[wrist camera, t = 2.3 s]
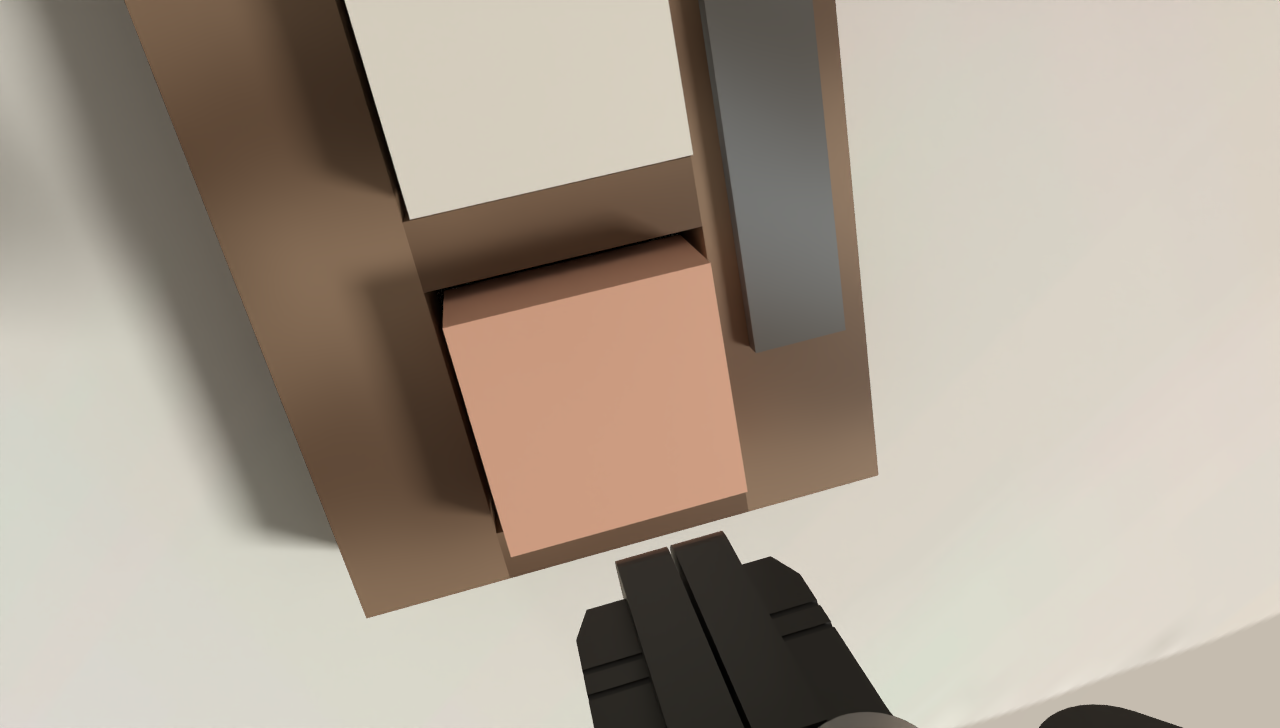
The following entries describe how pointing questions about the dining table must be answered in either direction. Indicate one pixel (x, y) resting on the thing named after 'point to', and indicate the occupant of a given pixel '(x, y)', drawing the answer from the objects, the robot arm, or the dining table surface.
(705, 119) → the brown wooden flat block
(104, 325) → the dining table surface
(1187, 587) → the dining table surface
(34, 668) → the dining table surface
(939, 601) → the dining table surface
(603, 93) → the key ivory
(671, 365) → the key terracotta
